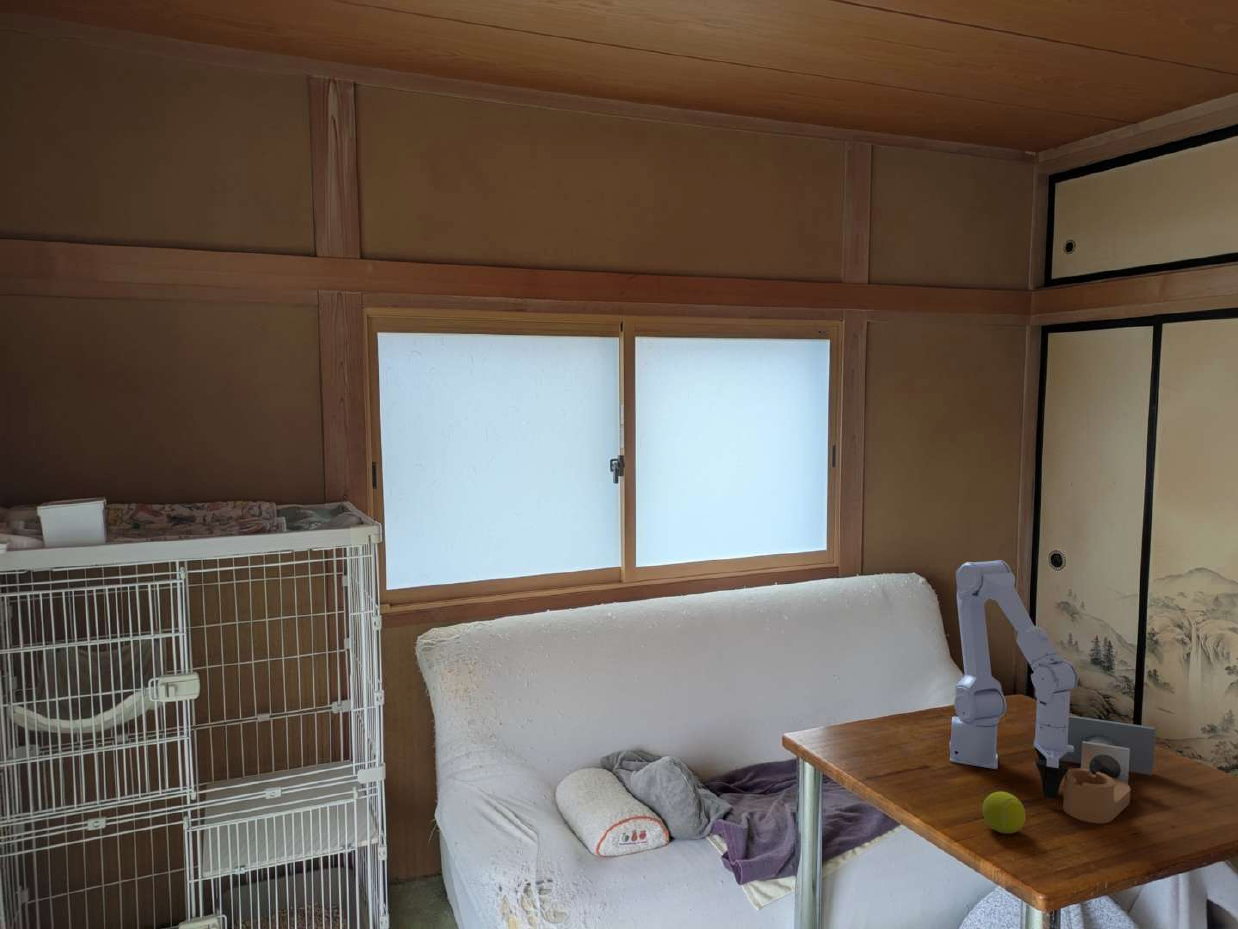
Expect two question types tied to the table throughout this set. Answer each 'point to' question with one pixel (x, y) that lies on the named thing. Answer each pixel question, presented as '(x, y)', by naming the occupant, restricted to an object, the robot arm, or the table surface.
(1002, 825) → the tennis ball
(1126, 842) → the table surface
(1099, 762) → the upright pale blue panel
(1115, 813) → the bracket
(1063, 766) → the robot arm
